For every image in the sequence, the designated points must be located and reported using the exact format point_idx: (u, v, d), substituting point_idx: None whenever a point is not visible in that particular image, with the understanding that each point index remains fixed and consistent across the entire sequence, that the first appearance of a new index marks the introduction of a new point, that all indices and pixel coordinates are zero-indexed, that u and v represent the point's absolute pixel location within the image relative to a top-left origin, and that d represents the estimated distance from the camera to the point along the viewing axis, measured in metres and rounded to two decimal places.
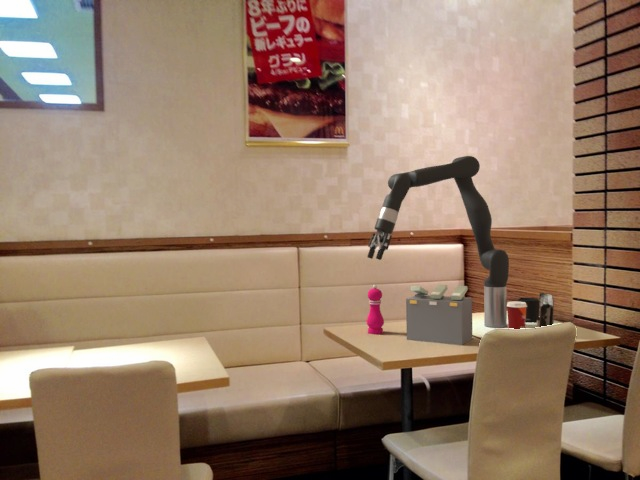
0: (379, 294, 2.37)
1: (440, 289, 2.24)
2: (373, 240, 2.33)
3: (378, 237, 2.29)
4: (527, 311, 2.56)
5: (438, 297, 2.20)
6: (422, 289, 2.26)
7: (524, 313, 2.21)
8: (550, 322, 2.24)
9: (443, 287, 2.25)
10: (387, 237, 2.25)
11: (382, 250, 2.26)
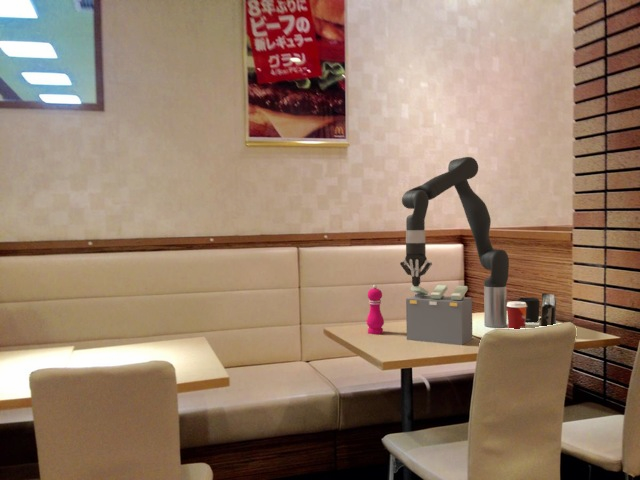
0: (379, 294, 2.37)
1: (440, 289, 2.24)
2: (412, 266, 2.24)
3: (417, 263, 2.23)
4: (527, 311, 2.56)
5: (438, 297, 2.20)
6: (422, 289, 2.26)
7: (524, 313, 2.21)
8: (551, 322, 2.23)
9: (443, 287, 2.25)
10: (429, 266, 2.22)
11: None
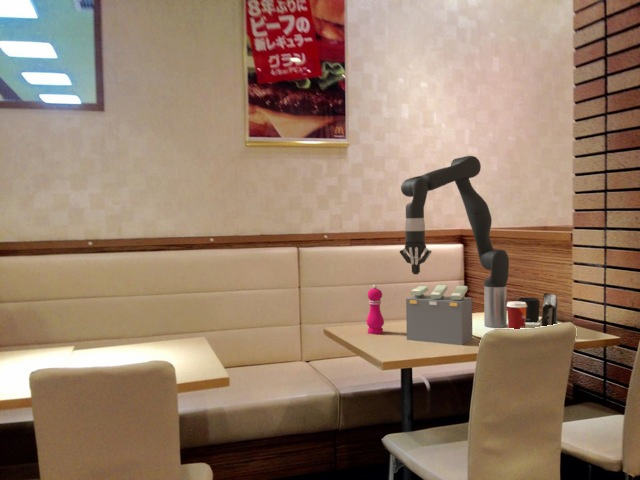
0: (379, 294, 2.37)
1: (440, 289, 2.24)
2: (411, 254, 2.24)
3: (417, 251, 2.23)
4: (527, 311, 2.56)
5: (438, 297, 2.20)
6: (422, 291, 2.26)
7: (524, 313, 2.21)
8: (552, 322, 2.23)
9: (443, 287, 2.25)
10: (428, 254, 2.22)
11: None
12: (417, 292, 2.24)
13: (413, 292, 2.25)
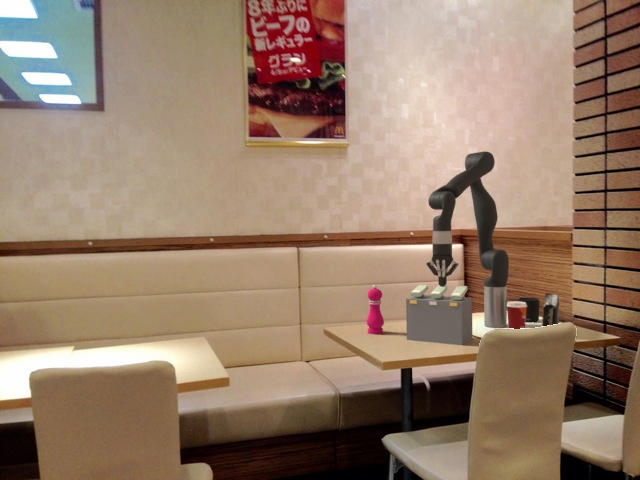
0: (379, 294, 2.37)
1: (440, 289, 2.24)
2: (438, 266, 2.26)
3: (444, 263, 2.25)
4: (527, 311, 2.56)
5: (438, 296, 2.20)
6: (422, 292, 2.26)
7: (524, 313, 2.21)
8: (553, 323, 2.23)
9: (443, 287, 2.25)
10: (455, 267, 2.24)
11: None
12: (417, 293, 2.24)
13: (413, 293, 2.25)
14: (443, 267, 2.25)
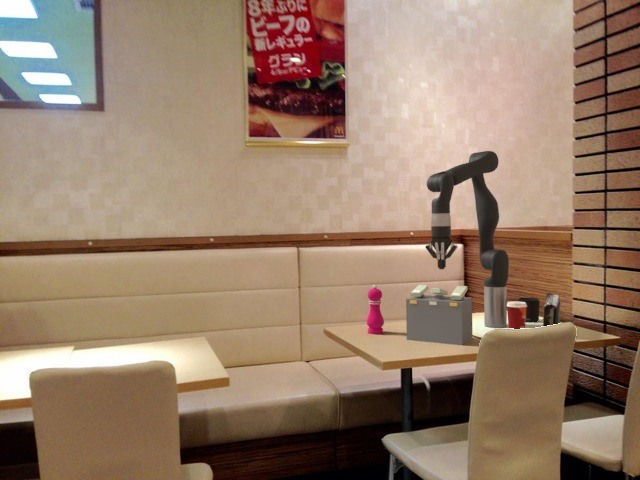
0: (379, 294, 2.37)
1: None
2: (437, 249, 2.26)
3: (443, 246, 2.24)
4: (527, 311, 2.56)
5: (438, 291, 2.20)
6: (422, 292, 2.26)
7: (524, 313, 2.21)
8: (554, 323, 2.22)
9: None
10: (454, 249, 2.23)
11: None
12: (417, 294, 2.24)
13: (413, 294, 2.25)
14: (442, 249, 2.25)
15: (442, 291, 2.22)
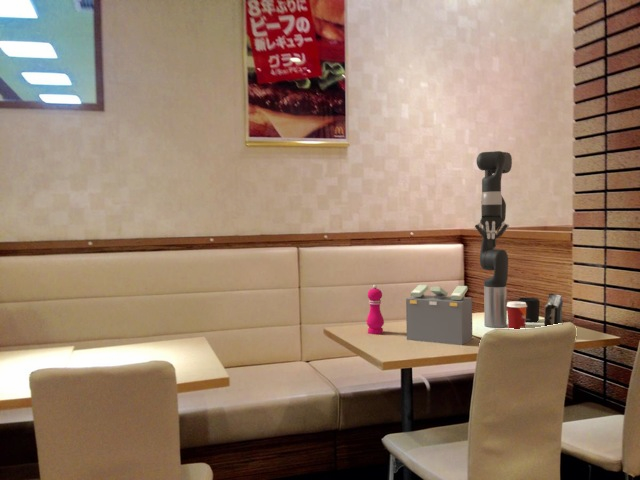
0: (379, 294, 2.37)
1: None
2: (488, 228, 2.21)
3: (494, 225, 2.20)
4: (527, 311, 2.56)
5: (438, 289, 2.20)
6: (422, 292, 2.26)
7: (524, 313, 2.21)
8: (555, 323, 2.22)
9: None
10: (506, 228, 2.19)
11: None
12: (417, 294, 2.24)
13: (413, 294, 2.25)
14: (493, 229, 2.20)
15: (442, 291, 2.22)
